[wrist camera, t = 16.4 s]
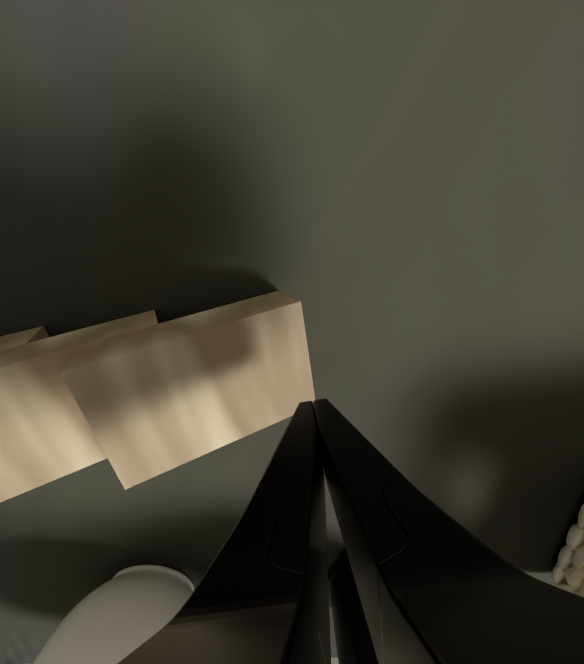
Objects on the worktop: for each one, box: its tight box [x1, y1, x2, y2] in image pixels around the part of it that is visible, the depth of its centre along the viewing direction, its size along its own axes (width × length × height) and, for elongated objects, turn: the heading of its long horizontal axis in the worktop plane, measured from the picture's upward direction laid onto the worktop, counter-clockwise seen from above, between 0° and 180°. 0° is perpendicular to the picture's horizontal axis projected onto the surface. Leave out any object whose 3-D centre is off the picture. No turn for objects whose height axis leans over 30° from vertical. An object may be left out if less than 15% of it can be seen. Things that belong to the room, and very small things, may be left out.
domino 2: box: [61, 290, 315, 490], centre depth 12 cm, size 2×5×8 cm
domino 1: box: [0, 310, 159, 502], centre depth 12 cm, size 2×5×8 cm
